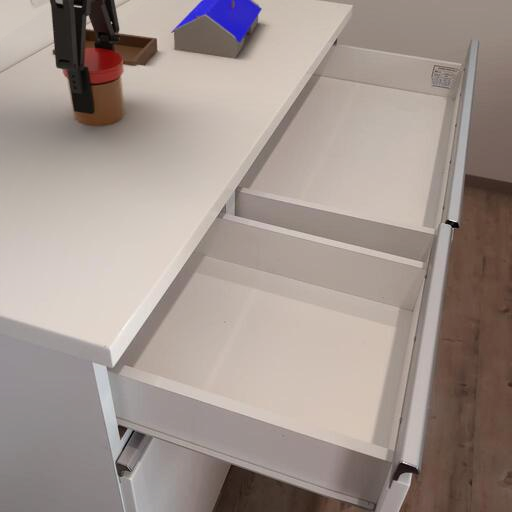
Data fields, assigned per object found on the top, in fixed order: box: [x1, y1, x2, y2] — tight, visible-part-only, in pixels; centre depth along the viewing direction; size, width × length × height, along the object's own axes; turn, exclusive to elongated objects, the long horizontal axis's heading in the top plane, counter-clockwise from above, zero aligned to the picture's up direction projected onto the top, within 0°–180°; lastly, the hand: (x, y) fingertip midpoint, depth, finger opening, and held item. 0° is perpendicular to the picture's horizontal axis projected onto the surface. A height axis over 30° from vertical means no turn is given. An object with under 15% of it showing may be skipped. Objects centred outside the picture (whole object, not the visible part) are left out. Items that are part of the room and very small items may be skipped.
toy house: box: [170, 0, 263, 59], centre depth 113 cm, size 22×14×7 cm, turn 168°
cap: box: [61, 48, 125, 83], centre depth 77 cm, size 8×8×2 cm
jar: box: [66, 75, 126, 127], centre depth 80 cm, size 8×8×10 cm
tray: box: [51, 28, 158, 67], centre depth 102 cm, size 15×12×2 cm
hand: (97, 98), depth 81 cm, fingers closed on cap, 8 cm apart
